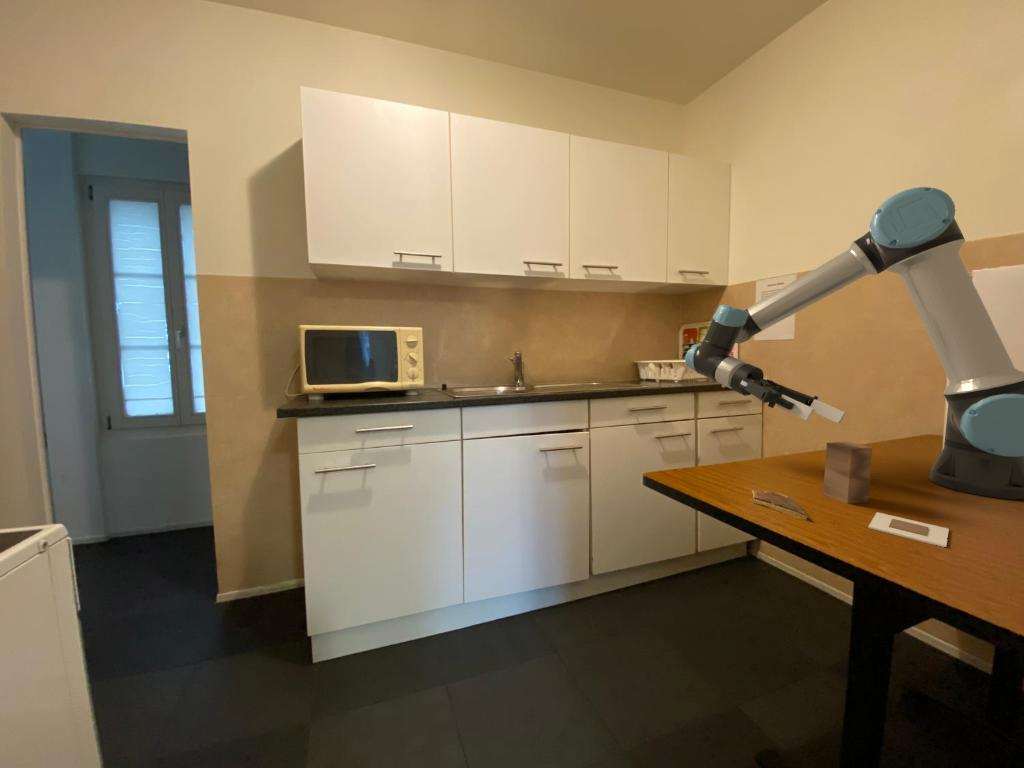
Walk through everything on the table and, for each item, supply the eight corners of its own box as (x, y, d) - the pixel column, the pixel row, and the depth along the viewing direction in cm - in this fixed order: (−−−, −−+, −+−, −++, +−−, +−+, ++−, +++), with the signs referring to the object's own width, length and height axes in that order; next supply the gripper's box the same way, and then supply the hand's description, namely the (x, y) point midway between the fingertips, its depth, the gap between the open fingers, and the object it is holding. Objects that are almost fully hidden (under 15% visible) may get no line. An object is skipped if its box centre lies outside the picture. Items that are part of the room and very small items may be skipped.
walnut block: (842, 493, 85) (846, 441, 84) (867, 501, 80) (872, 447, 79) (823, 494, 84) (826, 442, 83) (847, 503, 79) (851, 448, 78)
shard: (808, 524, 71) (808, 514, 71) (758, 518, 73) (759, 508, 73) (789, 502, 81) (789, 493, 81) (746, 497, 84) (746, 488, 83)
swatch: (948, 530, 67) (948, 527, 67) (946, 547, 61) (946, 544, 61) (876, 513, 74) (876, 511, 74) (868, 528, 68) (868, 525, 68)
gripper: (761, 393, 109) (845, 433, 92) (702, 385, 98) (786, 429, 80) (774, 368, 107) (863, 404, 90) (715, 356, 95) (805, 396, 78)
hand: (827, 416), depth 85 cm, fingers open, 13 cm apart
